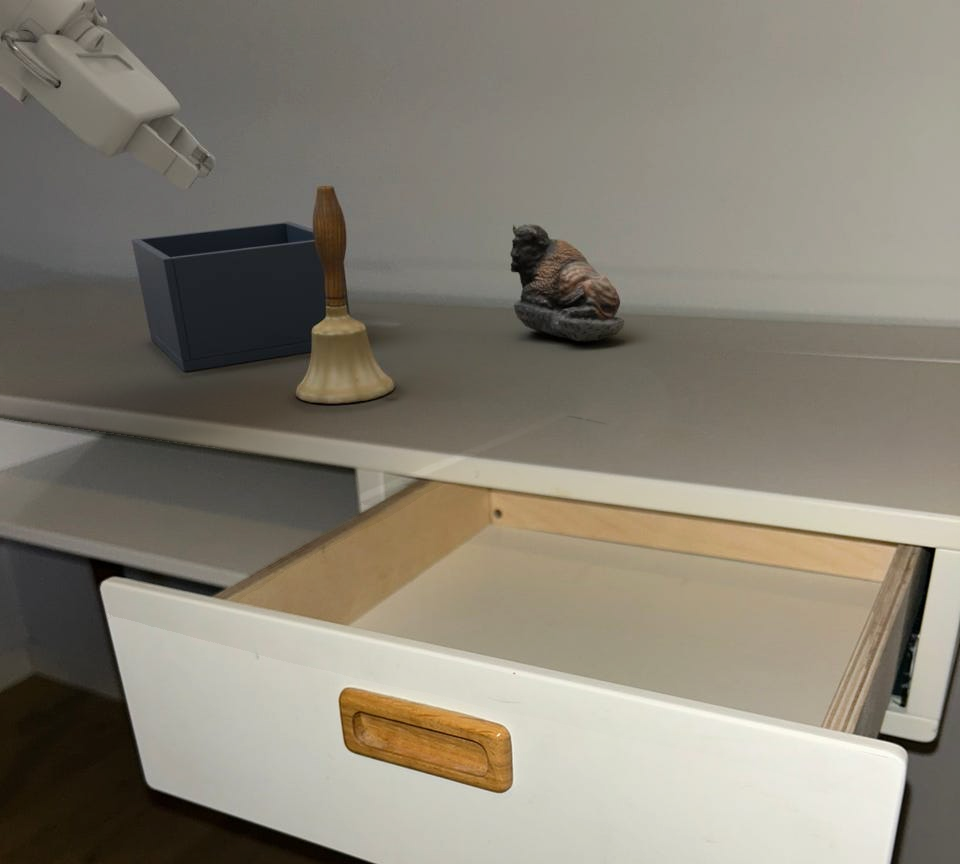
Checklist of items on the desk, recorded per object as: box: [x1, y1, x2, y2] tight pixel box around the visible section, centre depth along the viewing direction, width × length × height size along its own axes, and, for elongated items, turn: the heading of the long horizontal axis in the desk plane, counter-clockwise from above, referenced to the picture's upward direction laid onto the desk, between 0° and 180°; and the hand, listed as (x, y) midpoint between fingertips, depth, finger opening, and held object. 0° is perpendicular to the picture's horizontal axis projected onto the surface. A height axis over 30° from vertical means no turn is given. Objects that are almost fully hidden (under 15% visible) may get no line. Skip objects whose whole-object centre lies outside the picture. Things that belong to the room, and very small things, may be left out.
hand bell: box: [295, 185, 396, 405], centre depth 86 cm, size 8×8×16 cm
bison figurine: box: [509, 223, 625, 343], centre depth 100 cm, size 12×7×10 cm, turn 47°
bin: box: [131, 221, 351, 373], centre depth 106 cm, size 17×17×10 cm
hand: (202, 176), depth 81 cm, fingers open, 8 cm apart
